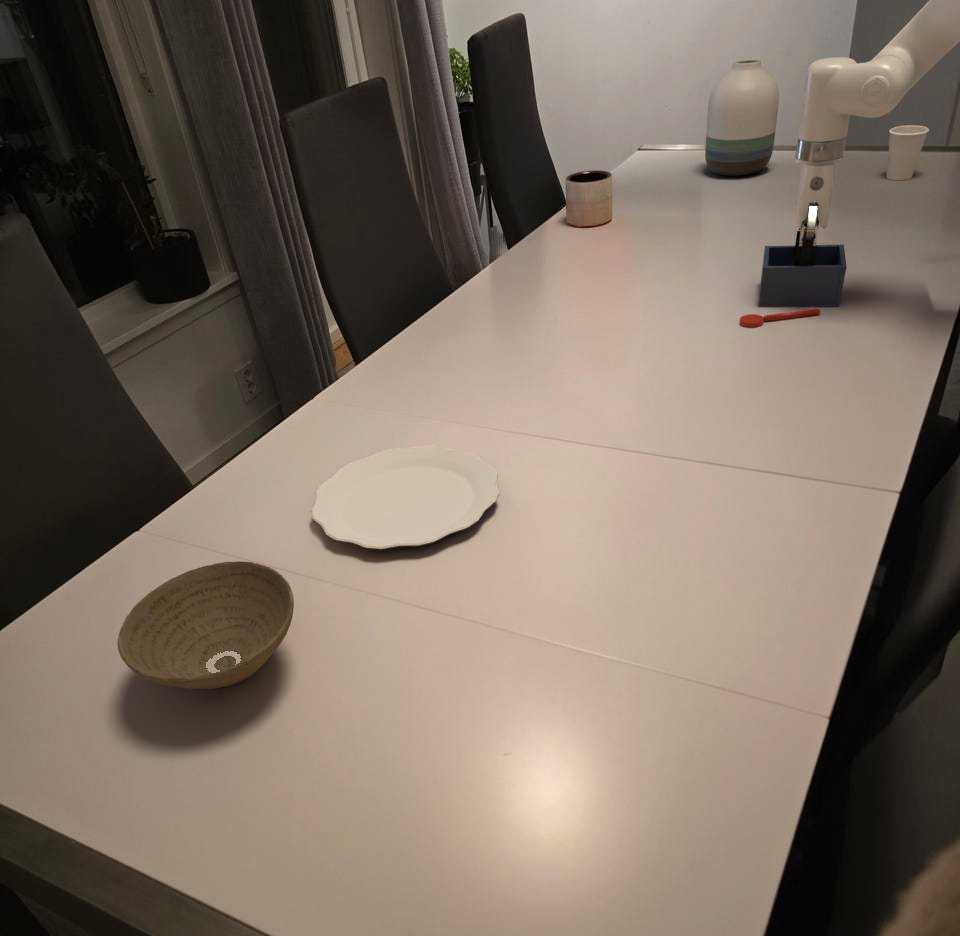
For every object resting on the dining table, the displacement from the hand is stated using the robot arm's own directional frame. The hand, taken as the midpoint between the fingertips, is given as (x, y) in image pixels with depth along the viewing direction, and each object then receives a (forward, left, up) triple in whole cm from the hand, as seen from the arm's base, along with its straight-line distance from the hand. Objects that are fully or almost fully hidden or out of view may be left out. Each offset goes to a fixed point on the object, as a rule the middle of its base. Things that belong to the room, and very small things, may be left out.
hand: (803, 261), depth 149 cm
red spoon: (+4, +12, -6) cm, 14 cm away
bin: (0, 0, -6) cm, 6 cm away
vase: (+15, -87, -6) cm, 88 cm away
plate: (+50, +76, -6) cm, 91 cm away
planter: (+47, -48, -6) cm, 67 cm away
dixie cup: (-23, -76, -6) cm, 80 cm away
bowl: (+59, +110, -6) cm, 125 cm away
